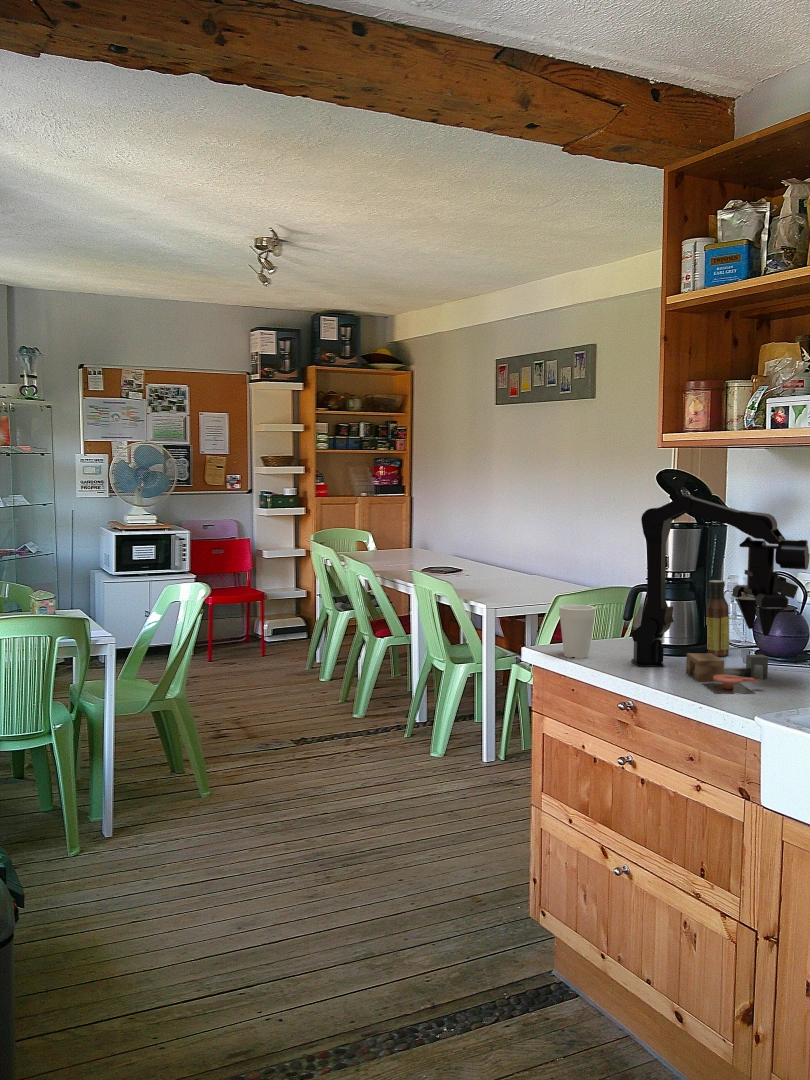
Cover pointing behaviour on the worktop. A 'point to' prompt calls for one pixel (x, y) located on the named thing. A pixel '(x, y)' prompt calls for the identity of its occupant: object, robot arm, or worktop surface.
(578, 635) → the foam cup
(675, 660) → the worktop surface
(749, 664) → the bolt
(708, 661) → the eye block
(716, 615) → the sauce bottle
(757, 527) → the robot arm
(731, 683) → the handwheel
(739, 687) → the brown square plate
